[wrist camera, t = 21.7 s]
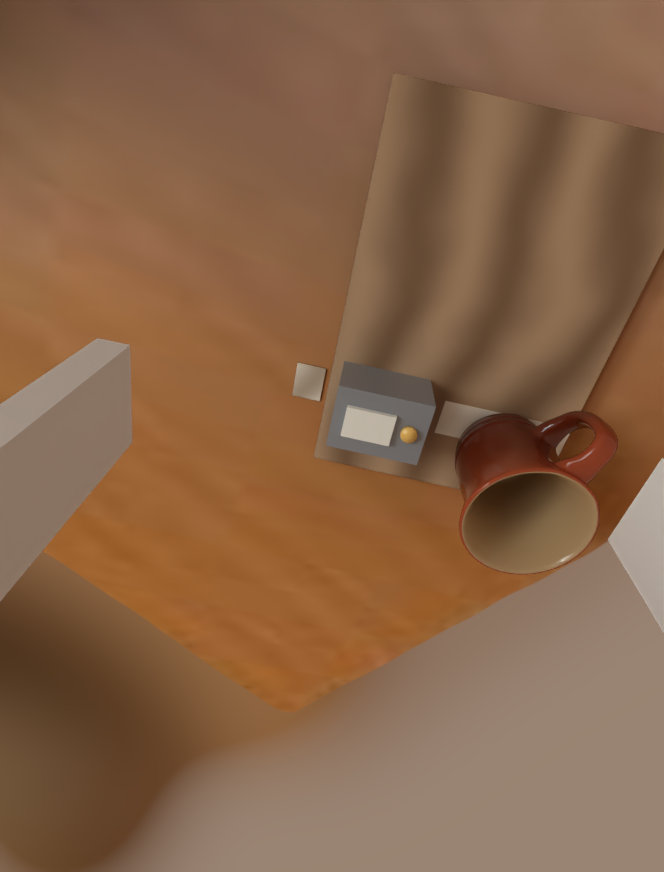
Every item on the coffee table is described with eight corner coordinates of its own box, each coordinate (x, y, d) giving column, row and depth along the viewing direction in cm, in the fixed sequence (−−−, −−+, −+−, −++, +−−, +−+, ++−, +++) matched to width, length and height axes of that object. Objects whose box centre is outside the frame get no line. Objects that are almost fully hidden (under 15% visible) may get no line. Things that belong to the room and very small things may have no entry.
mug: (497, 506, 43) (526, 593, 34) (422, 453, 41) (432, 532, 33) (609, 411, 38) (676, 486, 29) (528, 346, 36) (574, 405, 27)
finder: (332, 415, 41) (325, 448, 36) (344, 360, 38) (338, 387, 33) (413, 433, 41) (416, 468, 36) (430, 379, 38) (436, 409, 34)
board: (284, 443, 44) (281, 450, 43) (347, 65, 30) (346, 61, 29) (529, 497, 44) (533, 505, 43) (705, 146, 30) (716, 145, 29)
